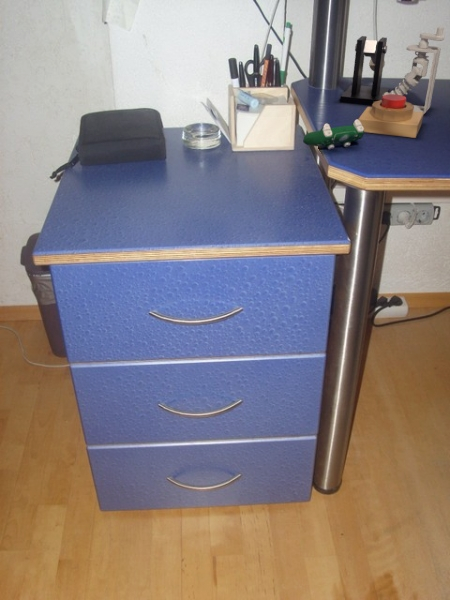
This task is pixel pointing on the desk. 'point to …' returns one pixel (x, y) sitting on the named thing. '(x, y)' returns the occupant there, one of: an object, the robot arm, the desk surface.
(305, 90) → the desk surface
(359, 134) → the green toy race car
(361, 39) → the bracket
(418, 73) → the clamp
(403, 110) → the button block
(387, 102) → the button
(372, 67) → the lever
